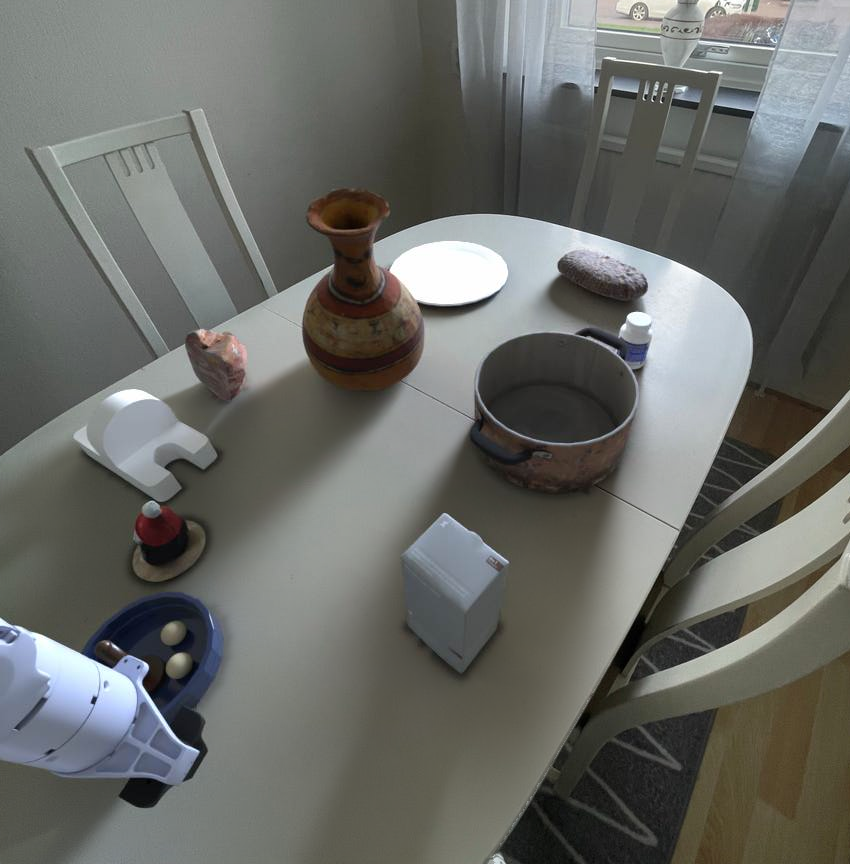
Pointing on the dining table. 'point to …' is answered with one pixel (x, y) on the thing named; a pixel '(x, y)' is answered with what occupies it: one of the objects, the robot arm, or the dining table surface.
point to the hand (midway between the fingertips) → (158, 742)
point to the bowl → (142, 637)
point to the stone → (217, 361)
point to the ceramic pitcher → (359, 300)
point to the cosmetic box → (453, 590)
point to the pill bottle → (636, 338)
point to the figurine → (165, 543)
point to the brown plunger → (156, 664)
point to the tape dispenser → (142, 441)
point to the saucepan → (554, 409)
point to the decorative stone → (603, 275)
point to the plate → (450, 273)
